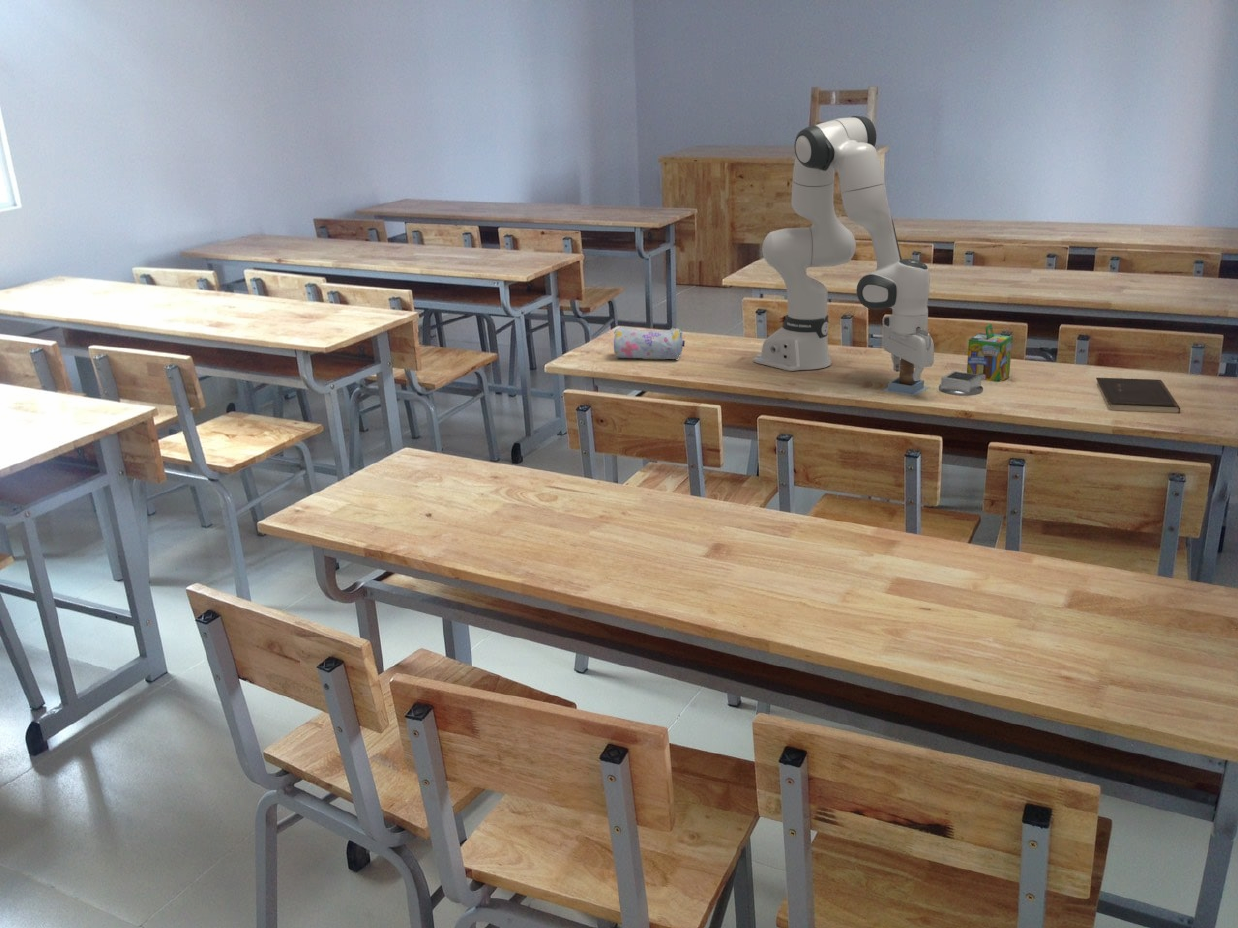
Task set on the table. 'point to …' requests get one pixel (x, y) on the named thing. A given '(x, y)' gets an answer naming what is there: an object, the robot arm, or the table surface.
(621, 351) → the pencil case
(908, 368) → the peg
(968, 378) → the hub
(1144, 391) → the hardcover book
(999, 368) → the chalk box
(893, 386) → the stand
